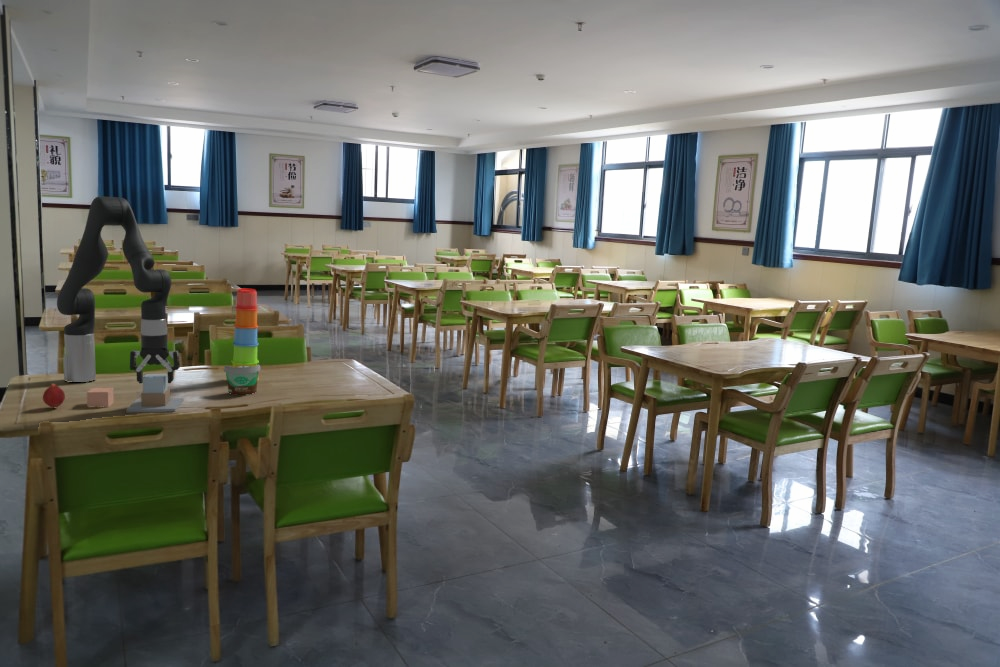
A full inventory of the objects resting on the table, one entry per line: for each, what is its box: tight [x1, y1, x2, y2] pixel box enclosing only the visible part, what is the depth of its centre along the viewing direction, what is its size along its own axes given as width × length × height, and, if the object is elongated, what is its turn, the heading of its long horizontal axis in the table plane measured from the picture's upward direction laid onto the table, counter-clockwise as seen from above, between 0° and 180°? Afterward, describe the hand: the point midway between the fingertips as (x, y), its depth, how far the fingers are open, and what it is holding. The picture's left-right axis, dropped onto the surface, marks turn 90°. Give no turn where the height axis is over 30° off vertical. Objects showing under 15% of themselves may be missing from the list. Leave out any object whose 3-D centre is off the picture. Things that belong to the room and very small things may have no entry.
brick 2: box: [142, 373, 168, 394], centre depth 234 cm, size 6×6×5 cm
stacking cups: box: [230, 287, 260, 381], centre depth 275 cm, size 10×10×35 cm
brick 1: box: [86, 387, 115, 408], centre depth 234 cm, size 6×6×5 cm
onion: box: [42, 383, 66, 408], centre depth 227 cm, size 6×6×8 cm
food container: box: [223, 364, 261, 396], centre depth 256 cm, size 12×6×10 cm, turn 117°
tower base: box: [126, 388, 185, 413], centre depth 235 cm, size 14×14×5 cm
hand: (155, 382), depth 234 cm, fingers open, 8 cm apart
